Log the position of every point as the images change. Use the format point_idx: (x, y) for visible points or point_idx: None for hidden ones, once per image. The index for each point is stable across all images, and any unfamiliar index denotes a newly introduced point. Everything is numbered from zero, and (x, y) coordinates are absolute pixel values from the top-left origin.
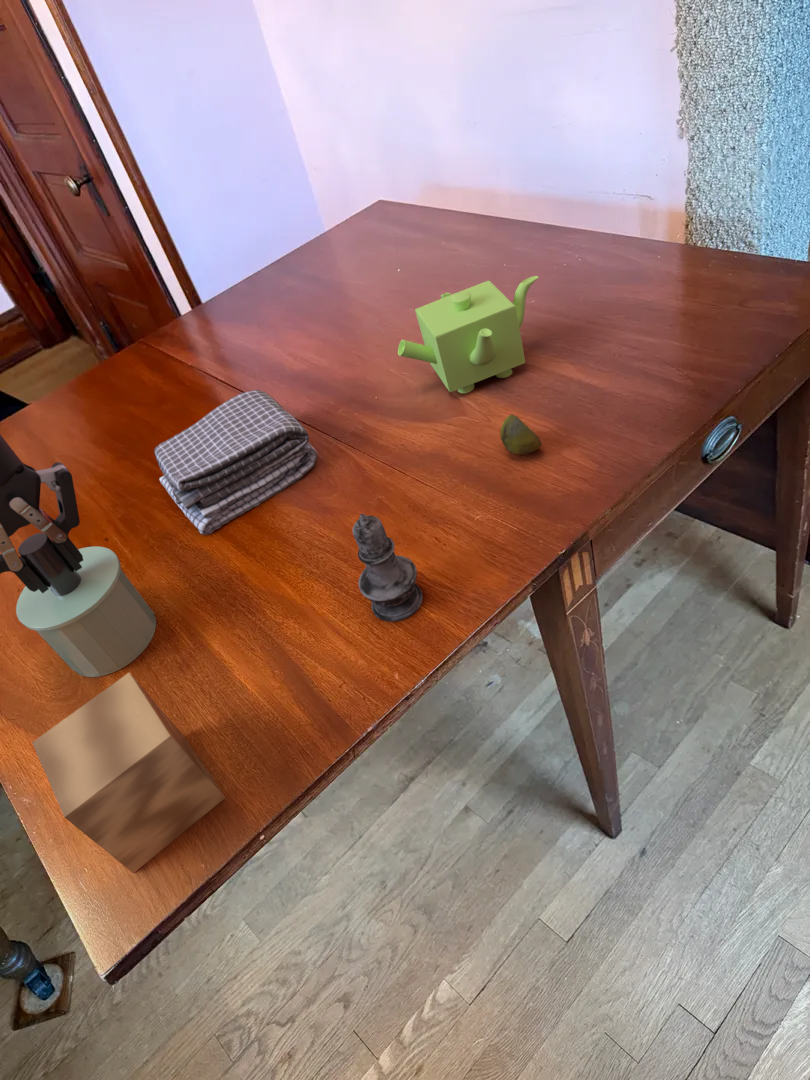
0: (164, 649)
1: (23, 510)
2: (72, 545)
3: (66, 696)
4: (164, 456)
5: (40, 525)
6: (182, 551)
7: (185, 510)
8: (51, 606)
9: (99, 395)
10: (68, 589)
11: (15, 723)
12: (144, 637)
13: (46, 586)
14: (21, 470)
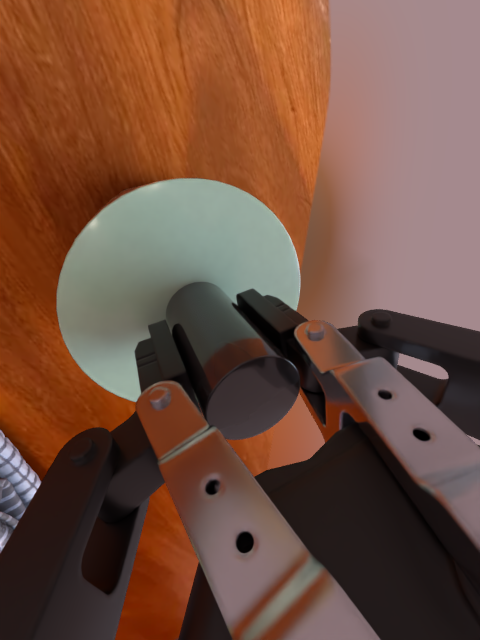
0: (67, 172)
1: (298, 609)
2: (143, 376)
3: (242, 189)
4: None
5: (210, 455)
6: (36, 389)
7: (11, 464)
8: (238, 264)
9: (160, 622)
10: (194, 285)
11: (306, 191)
12: (99, 210)
13: (240, 300)
14: None
